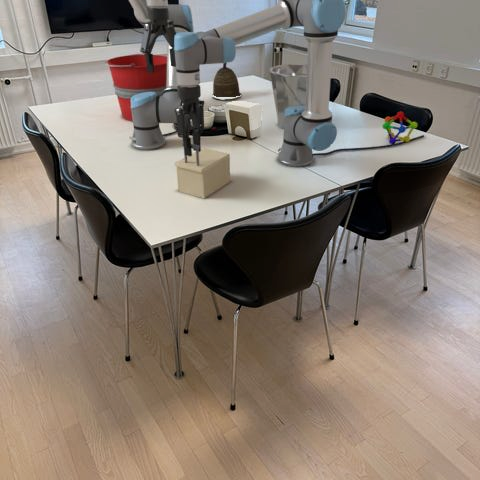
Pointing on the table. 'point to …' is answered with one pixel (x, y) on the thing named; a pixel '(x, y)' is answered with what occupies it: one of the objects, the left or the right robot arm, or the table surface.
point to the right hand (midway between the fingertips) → (192, 152)
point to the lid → (201, 159)
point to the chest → (204, 179)
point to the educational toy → (398, 128)
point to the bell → (225, 83)
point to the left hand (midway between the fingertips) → (162, 69)
